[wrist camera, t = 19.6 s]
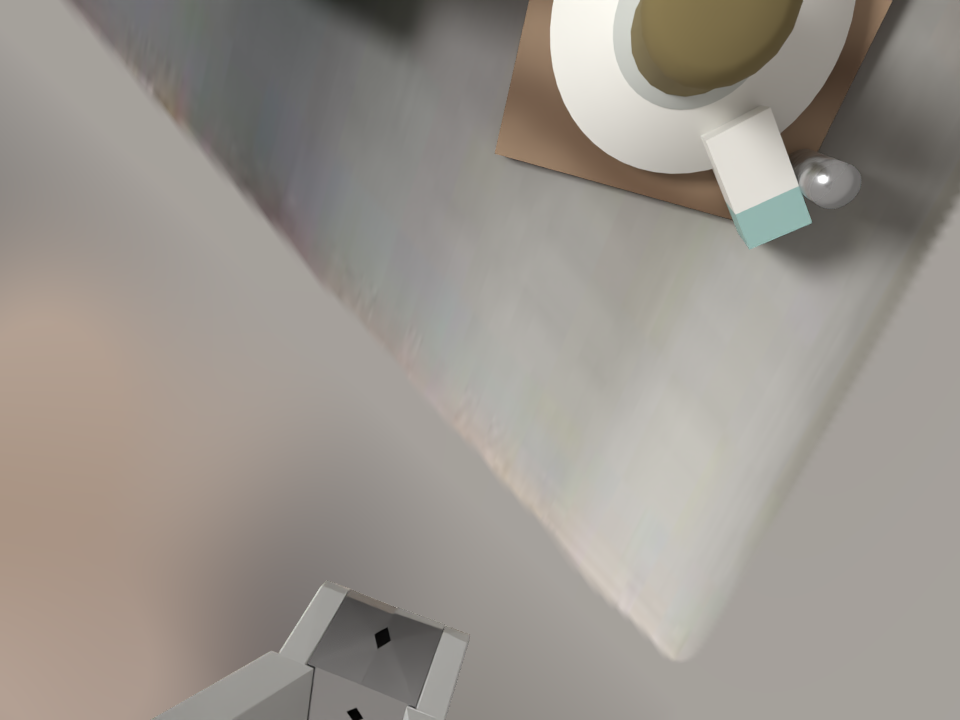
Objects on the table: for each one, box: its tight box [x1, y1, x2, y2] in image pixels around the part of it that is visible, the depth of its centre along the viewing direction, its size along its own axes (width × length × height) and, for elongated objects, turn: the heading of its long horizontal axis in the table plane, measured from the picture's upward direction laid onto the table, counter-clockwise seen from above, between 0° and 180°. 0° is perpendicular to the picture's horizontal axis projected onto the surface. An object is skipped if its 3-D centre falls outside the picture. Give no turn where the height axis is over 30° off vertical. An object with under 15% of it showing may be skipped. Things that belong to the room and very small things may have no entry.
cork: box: [631, 0, 803, 97], centre depth 23 cm, size 6×6×11 cm
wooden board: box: [495, 0, 893, 220], centre depth 29 cm, size 17×17×1 cm
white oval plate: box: [550, 0, 856, 250], centre depth 27 cm, size 18×14×4 cm
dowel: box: [788, 149, 862, 209], centre depth 28 cm, size 2×2×7 cm
